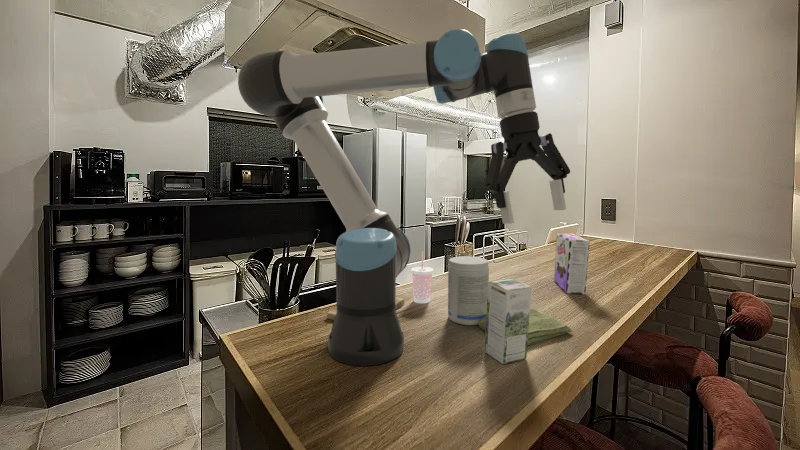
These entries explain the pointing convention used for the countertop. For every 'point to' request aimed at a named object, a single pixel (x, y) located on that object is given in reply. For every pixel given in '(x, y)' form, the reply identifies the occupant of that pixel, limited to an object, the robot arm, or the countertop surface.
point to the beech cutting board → (332, 313)
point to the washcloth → (539, 327)
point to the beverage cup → (422, 283)
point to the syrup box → (507, 320)
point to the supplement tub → (467, 289)
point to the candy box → (571, 263)
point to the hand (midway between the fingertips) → (534, 216)
